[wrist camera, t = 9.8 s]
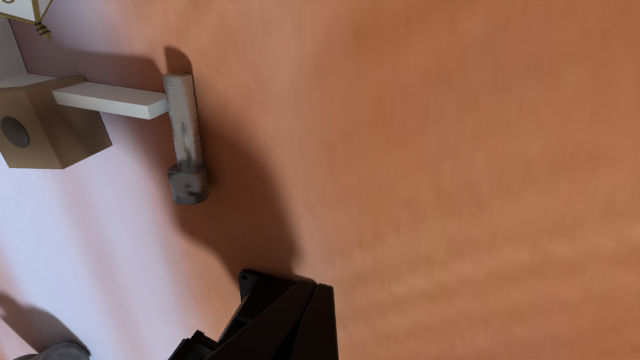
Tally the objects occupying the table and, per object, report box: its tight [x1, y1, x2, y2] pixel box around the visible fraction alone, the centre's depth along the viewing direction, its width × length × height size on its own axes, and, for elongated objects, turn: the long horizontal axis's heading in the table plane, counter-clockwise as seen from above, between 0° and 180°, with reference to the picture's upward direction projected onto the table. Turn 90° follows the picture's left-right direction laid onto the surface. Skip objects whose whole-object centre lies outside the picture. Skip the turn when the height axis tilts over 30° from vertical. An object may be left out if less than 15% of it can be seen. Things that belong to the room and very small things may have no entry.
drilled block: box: [0, 76, 112, 169], centre depth 23 cm, size 5×5×4 cm
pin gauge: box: [162, 72, 210, 205], centre depth 22 cm, size 8×2×2 cm, turn 177°
